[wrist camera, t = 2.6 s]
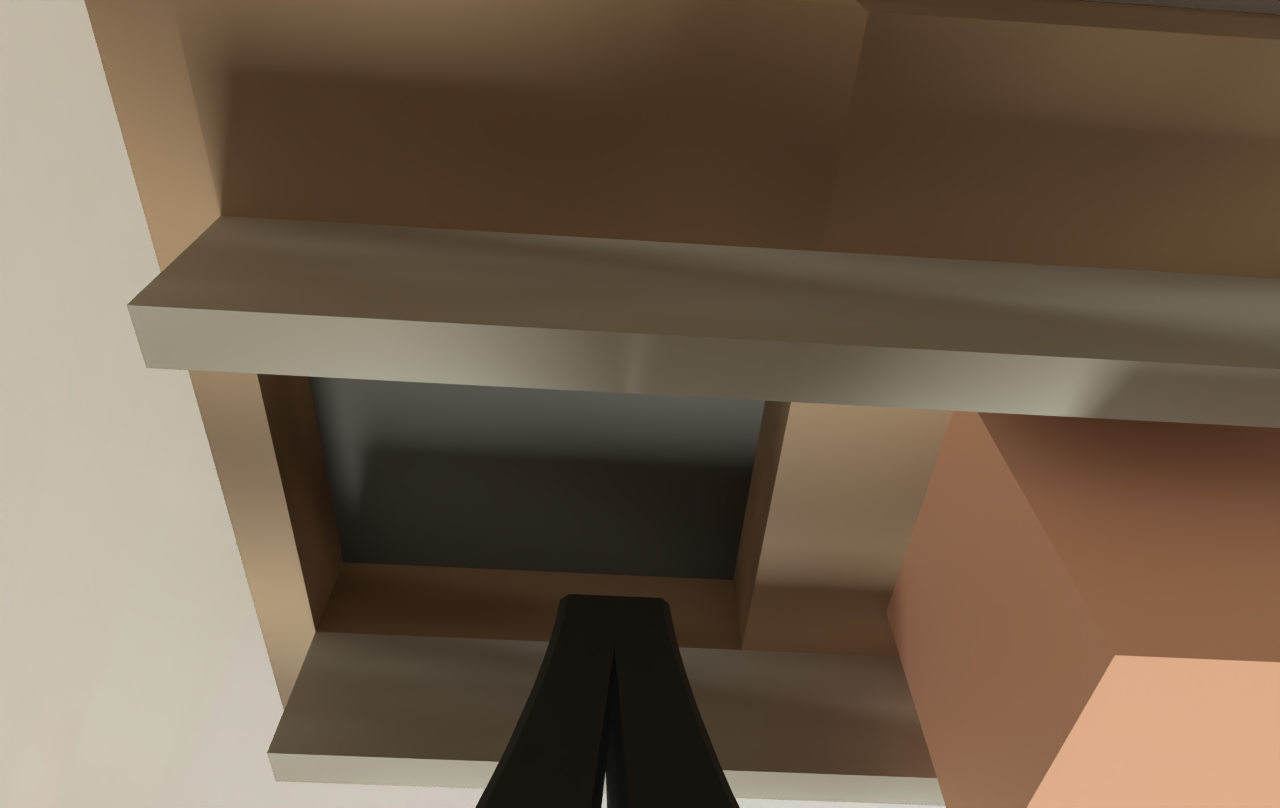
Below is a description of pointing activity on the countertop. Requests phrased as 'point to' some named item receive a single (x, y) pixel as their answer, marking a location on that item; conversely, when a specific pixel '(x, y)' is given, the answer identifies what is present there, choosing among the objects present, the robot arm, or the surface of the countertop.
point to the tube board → (667, 325)
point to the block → (1097, 613)
